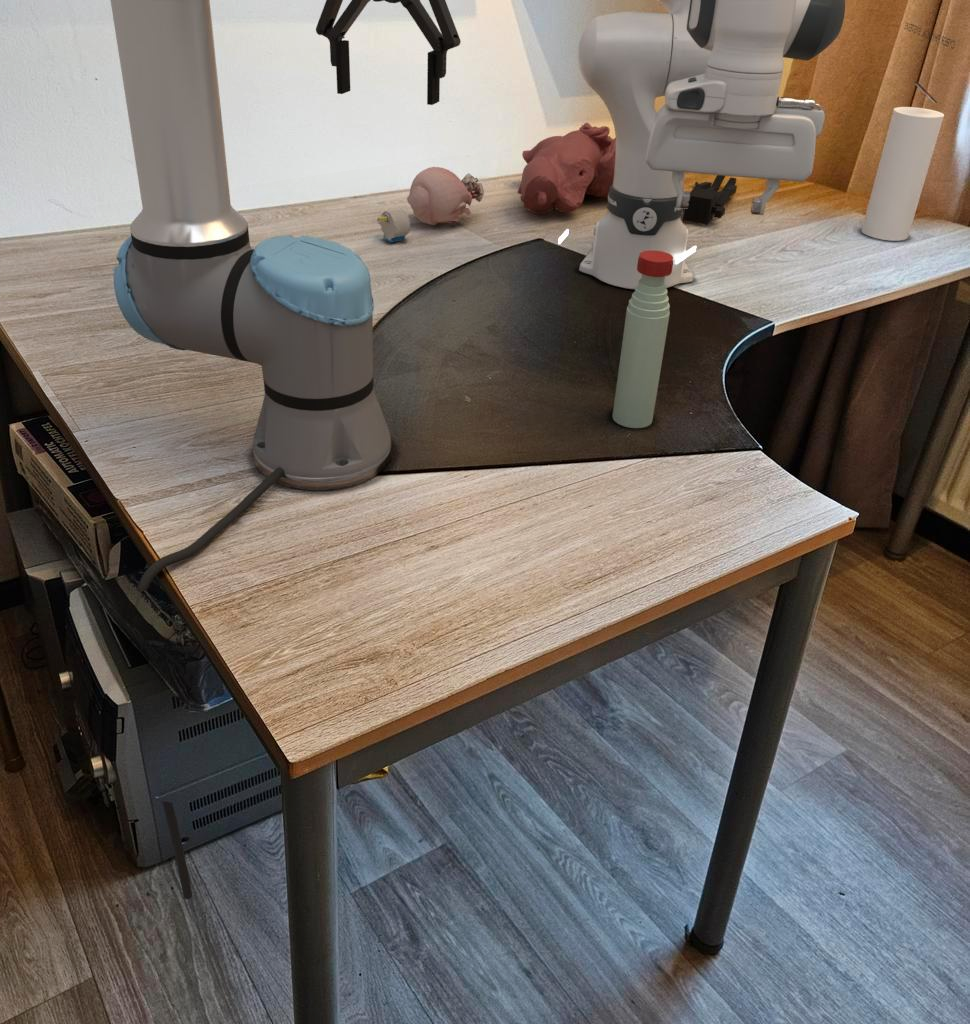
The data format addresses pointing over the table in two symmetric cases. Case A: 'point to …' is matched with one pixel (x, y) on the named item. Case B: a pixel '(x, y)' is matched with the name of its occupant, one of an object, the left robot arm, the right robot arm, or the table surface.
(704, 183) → the black piece
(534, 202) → the red pig head
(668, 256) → the cap
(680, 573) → the table surface
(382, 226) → the electric motor
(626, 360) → the bottle
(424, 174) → the toy
